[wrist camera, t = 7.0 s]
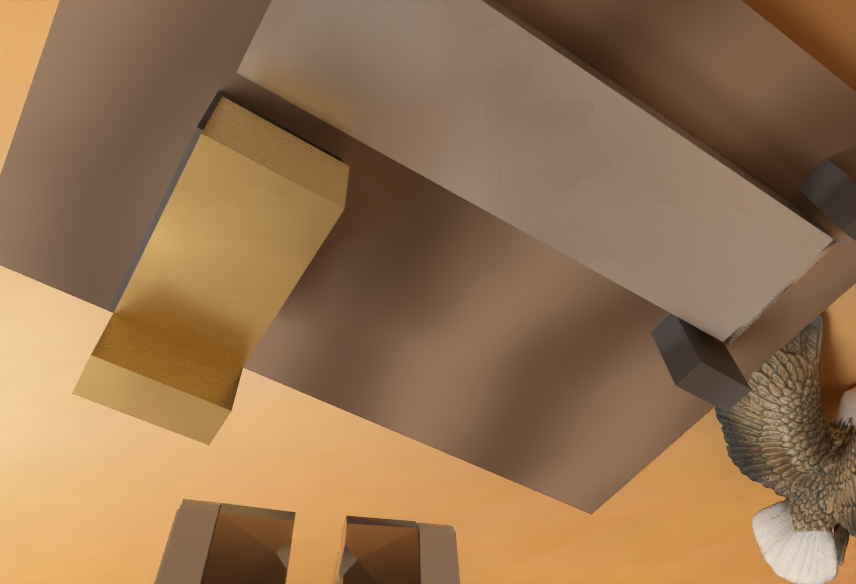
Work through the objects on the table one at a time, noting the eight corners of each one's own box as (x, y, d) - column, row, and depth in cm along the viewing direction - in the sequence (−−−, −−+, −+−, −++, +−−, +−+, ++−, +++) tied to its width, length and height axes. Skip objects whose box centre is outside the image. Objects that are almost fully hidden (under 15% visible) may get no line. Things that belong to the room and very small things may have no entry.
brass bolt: (349, 166, 16) (339, 245, 13) (236, 347, 19) (209, 445, 16) (222, 96, 15) (183, 165, 12) (123, 298, 18) (72, 393, 15)
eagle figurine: (974, 440, 27) (985, 297, 21) (968, 636, 24) (979, 532, 18) (754, 412, 31) (711, 288, 25) (723, 574, 28) (667, 475, 22)
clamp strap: (825, 226, 20) (848, 249, 19) (721, 324, 22) (737, 350, 21) (327, -115, 15) (324, -107, 14) (244, 55, 16) (236, 72, 15)
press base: (925, 152, 21) (1034, 226, 18) (580, 473, 29) (607, 571, 25) (228, -404, 14) (169, -473, 10) (6, 218, 21) (-74, 305, 18)
